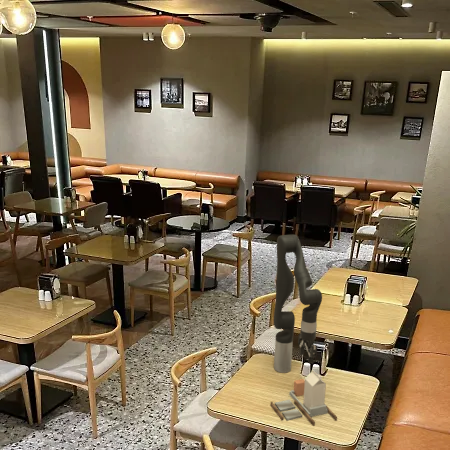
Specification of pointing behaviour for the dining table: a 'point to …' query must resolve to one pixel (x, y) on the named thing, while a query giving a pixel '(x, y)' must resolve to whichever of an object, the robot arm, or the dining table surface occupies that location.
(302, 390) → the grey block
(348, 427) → the dining table surface
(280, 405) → the board
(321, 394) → the milk carton
